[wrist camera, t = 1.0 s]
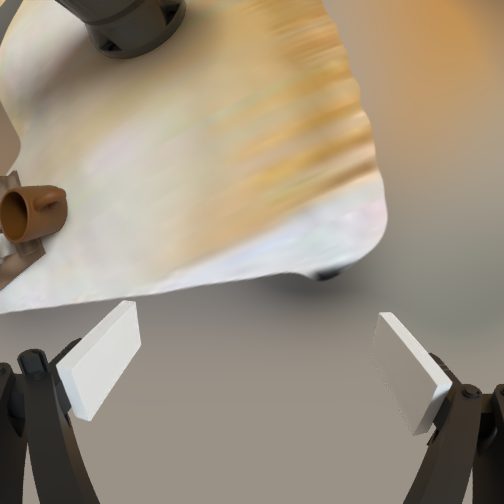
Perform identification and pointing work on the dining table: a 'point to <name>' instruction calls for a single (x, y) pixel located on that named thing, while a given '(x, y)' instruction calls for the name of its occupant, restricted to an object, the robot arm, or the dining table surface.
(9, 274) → the peg stand
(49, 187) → the mug
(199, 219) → the dining table surface
